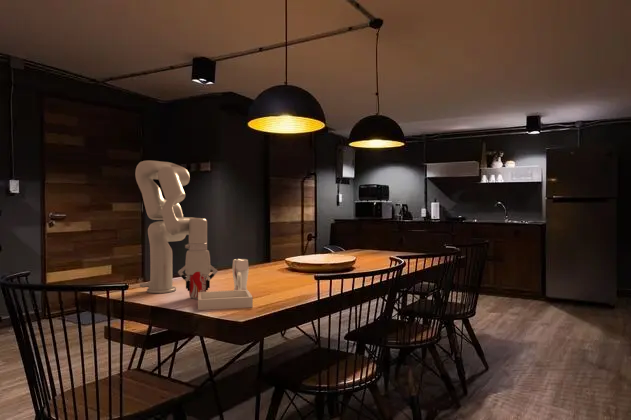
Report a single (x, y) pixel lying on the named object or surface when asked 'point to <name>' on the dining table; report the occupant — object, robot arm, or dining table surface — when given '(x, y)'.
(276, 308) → the dining table surface
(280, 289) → the dining table surface
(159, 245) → the robot arm
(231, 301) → the tray
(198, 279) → the soda can
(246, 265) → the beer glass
